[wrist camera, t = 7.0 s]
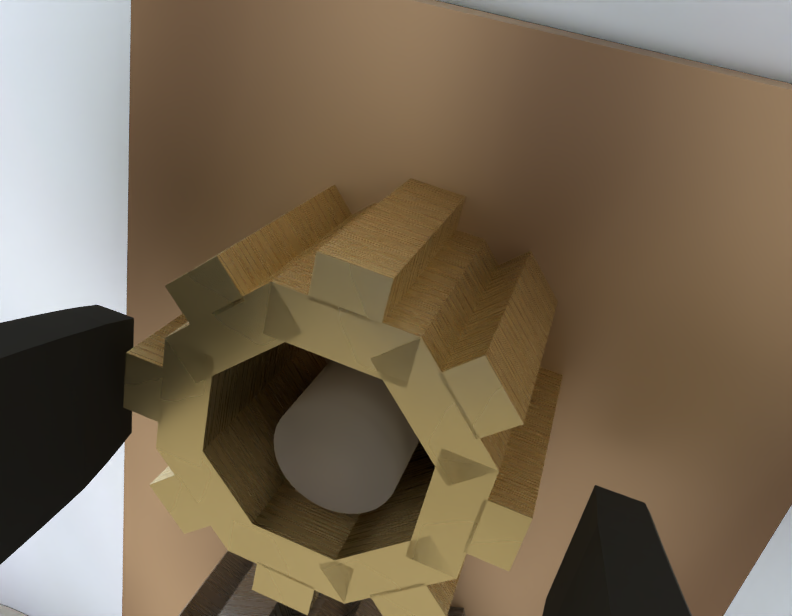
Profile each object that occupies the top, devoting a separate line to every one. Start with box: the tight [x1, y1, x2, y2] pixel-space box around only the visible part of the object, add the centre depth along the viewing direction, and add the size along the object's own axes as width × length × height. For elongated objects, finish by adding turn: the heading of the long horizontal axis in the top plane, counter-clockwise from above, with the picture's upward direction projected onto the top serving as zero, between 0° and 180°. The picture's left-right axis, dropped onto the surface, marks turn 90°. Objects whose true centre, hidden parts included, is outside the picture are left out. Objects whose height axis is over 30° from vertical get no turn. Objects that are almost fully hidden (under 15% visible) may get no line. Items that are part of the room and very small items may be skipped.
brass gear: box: [123, 178, 563, 616], centre depth 10 cm, size 6×6×4 cm
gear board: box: [122, 0, 792, 616], centre depth 13 cm, size 12×18×4 cm, turn 170°
